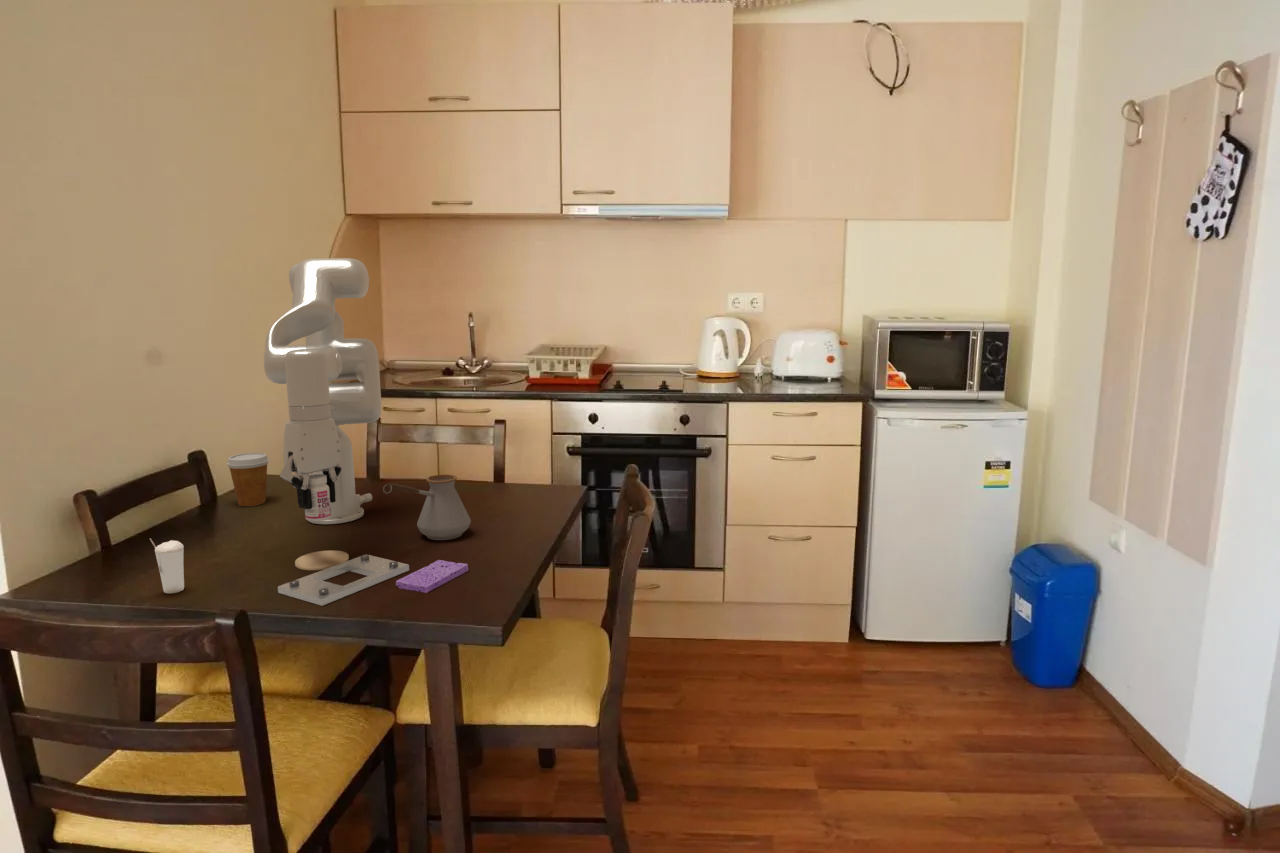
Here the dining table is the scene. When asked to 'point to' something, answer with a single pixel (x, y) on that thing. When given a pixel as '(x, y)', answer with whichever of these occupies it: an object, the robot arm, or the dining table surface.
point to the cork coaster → (321, 560)
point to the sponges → (432, 576)
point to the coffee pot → (440, 508)
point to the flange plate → (325, 592)
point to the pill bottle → (318, 498)
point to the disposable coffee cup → (249, 477)
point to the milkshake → (171, 565)
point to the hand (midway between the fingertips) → (317, 503)
